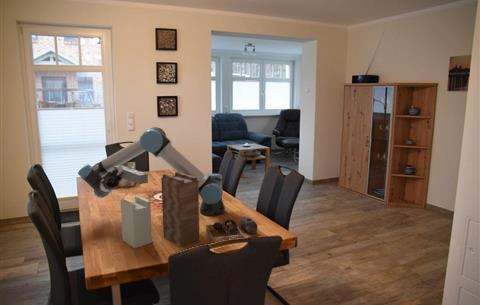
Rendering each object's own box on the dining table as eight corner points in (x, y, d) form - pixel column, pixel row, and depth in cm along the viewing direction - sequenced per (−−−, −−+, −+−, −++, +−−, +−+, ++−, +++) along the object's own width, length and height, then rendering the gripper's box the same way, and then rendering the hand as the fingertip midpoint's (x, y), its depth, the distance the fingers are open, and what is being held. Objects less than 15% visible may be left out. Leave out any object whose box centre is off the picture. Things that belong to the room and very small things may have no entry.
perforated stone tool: (237, 226, 187) (236, 213, 186) (246, 224, 189) (246, 212, 188) (248, 236, 174) (248, 223, 173) (258, 235, 176) (258, 221, 175)
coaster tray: (235, 228, 185) (235, 222, 184) (243, 241, 169) (243, 235, 168) (206, 230, 181) (206, 225, 181) (211, 244, 165) (211, 238, 164)
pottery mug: (233, 229, 184) (238, 218, 180) (233, 243, 177) (239, 233, 172) (210, 225, 182) (215, 214, 177) (210, 240, 174) (215, 228, 169)
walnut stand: (163, 237, 173) (161, 174, 168) (180, 231, 180) (178, 171, 175) (182, 247, 162) (180, 180, 157) (199, 241, 169) (198, 177, 163)
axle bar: (114, 174, 173) (113, 166, 172) (122, 173, 176) (121, 165, 175) (139, 184, 154) (139, 175, 154) (147, 182, 157) (147, 174, 156)
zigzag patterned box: (135, 178, 292) (135, 162, 289) (134, 185, 270) (133, 167, 267) (102, 180, 286) (101, 163, 283) (98, 187, 264) (97, 169, 261)
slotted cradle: (122, 240, 169) (120, 199, 166) (139, 235, 175) (137, 195, 172) (134, 248, 161) (132, 205, 157) (152, 242, 167) (150, 201, 163)
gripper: (127, 187, 188) (144, 171, 172) (95, 193, 177) (110, 177, 160) (123, 174, 190) (140, 157, 174) (91, 179, 179) (106, 162, 162)
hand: (126, 167), depth 167 cm, fingers closed on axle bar, 4 cm apart
